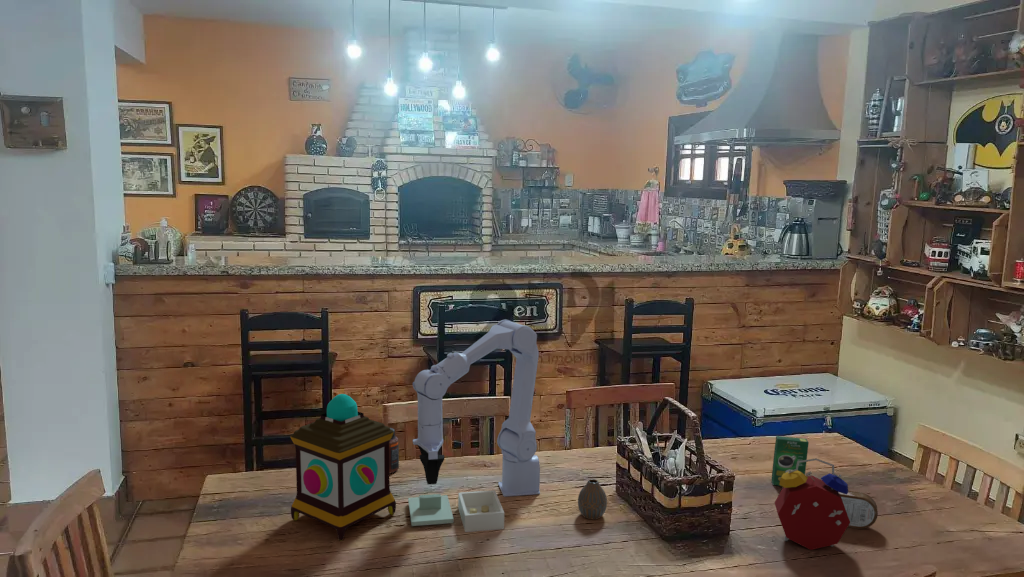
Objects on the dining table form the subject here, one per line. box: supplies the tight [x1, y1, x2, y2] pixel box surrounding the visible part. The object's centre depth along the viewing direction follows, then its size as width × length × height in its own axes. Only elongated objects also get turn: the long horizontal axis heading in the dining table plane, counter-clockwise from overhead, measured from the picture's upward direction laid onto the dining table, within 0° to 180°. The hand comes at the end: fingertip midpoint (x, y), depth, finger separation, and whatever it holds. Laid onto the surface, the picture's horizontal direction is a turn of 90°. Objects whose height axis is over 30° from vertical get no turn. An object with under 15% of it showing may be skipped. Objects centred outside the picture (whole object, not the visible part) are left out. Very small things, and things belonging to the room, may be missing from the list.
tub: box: [457, 489, 505, 533], centre depth 170 cm, size 9×12×4 cm
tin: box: [839, 489, 879, 530], centre depth 170 cm, size 15×3×8 cm, turn 71°
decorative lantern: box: [289, 393, 397, 542], centre depth 167 cm, size 20×20×30 cm
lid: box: [407, 493, 454, 527], centre depth 171 cm, size 10×13×5 cm
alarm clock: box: [774, 457, 850, 551], centre depth 158 cm, size 15×9×20 cm, turn 77°
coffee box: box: [771, 435, 809, 487], centre depth 190 cm, size 8×3×13 cm, turn 79°
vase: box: [577, 478, 608, 520], centre depth 172 cm, size 7×7×9 cm
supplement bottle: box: [389, 427, 400, 474], centre depth 196 cm, size 6×6×11 cm
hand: (430, 476), depth 170 cm, fingers open, 7 cm apart
